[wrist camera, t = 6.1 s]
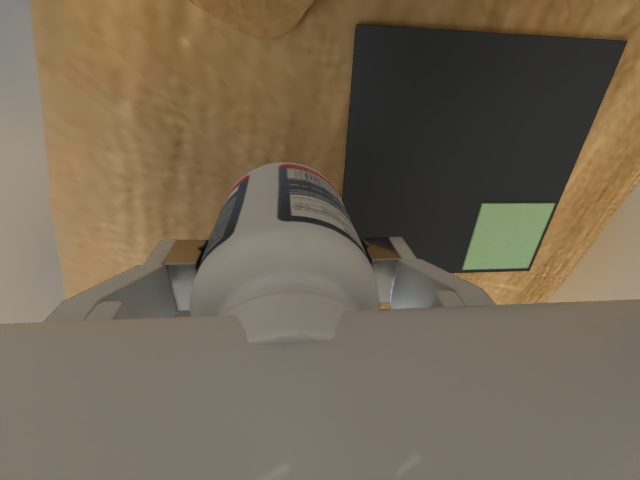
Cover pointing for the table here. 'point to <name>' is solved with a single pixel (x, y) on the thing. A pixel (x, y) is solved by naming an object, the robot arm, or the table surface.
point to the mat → (468, 138)
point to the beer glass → (257, 14)
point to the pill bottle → (284, 258)
